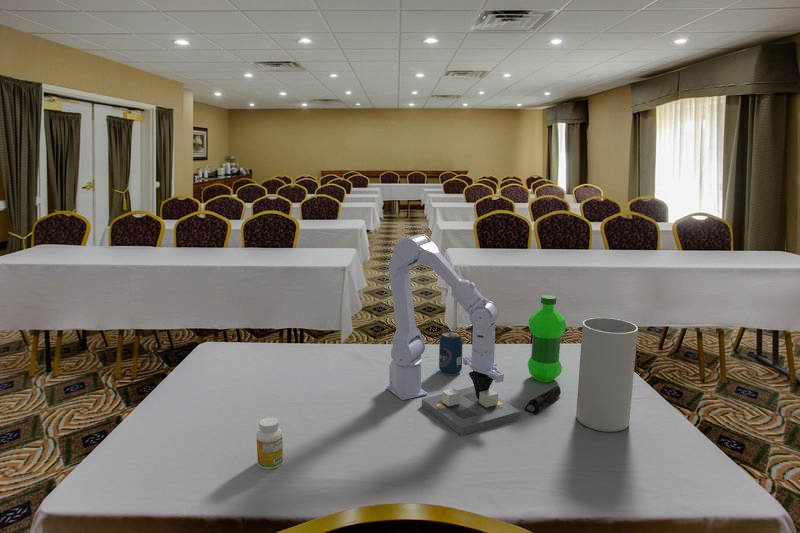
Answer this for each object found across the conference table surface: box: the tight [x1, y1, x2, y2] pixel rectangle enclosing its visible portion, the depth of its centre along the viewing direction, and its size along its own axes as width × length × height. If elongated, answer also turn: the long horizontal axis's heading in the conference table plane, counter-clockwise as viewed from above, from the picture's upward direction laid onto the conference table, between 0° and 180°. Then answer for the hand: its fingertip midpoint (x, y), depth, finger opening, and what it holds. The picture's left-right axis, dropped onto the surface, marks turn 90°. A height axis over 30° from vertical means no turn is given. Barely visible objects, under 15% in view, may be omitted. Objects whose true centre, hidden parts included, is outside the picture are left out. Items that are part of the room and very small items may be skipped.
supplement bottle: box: [256, 417, 284, 470], centre depth 121 cm, size 5×5×10 cm
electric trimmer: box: [524, 385, 562, 415], centre depth 151 cm, size 4×16×3 cm, turn 138°
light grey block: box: [441, 387, 461, 406], centre depth 146 cm, size 3×4×3 cm
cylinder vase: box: [575, 317, 639, 433], centre depth 139 cm, size 12×12×25 cm
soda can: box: [438, 330, 463, 376], centre depth 172 cm, size 7×7×12 cm
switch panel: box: [421, 385, 521, 436], centre depth 146 cm, size 18×18×2 cm
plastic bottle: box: [527, 294, 567, 383], centre depth 165 cm, size 10×10×25 cm
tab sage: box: [479, 388, 499, 408], centre depth 145 cm, size 3×4×3 cm
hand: (481, 398), depth 148 cm, fingers closed
